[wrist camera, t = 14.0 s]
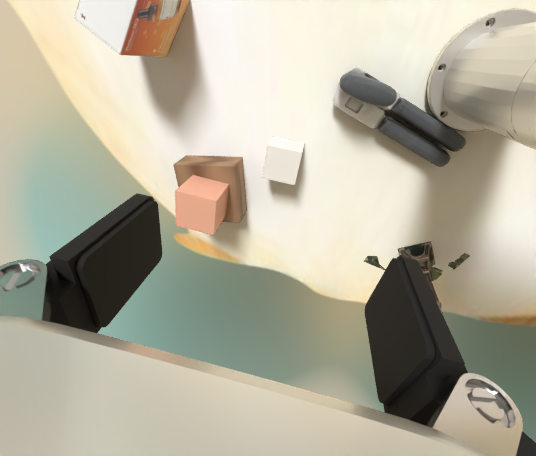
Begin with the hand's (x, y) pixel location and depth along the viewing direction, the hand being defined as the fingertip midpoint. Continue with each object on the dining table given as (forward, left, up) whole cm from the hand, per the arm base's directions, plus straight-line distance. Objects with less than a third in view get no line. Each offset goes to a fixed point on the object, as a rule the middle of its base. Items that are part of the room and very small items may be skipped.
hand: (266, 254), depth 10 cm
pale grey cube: (+2, +7, -33) cm, 34 cm away
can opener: (-12, -2, -34) cm, 36 cm away
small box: (+22, -8, -34) cm, 41 cm away
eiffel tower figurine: (-25, +21, -34) cm, 47 cm away
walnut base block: (+13, +15, -34) cm, 39 cm away
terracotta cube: (+13, +15, -29) cm, 35 cm away
